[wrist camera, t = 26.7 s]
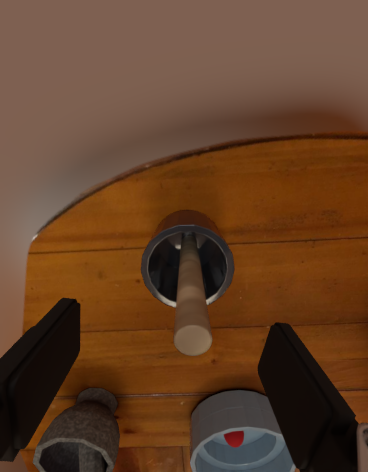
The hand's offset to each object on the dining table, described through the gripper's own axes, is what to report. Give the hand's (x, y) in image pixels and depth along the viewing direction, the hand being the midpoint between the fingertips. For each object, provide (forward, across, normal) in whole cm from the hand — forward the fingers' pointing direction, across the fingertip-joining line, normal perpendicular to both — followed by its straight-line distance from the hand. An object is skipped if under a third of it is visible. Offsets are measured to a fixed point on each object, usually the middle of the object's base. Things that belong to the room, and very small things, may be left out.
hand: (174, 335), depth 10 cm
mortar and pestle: (+15, +8, +28) cm, 32 cm away
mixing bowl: (+14, -13, +28) cm, 34 cm away
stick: (+14, -1, 0) cm, 14 cm away
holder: (+14, -1, 0) cm, 14 cm away
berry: (+12, -12, +27) cm, 32 cm away
